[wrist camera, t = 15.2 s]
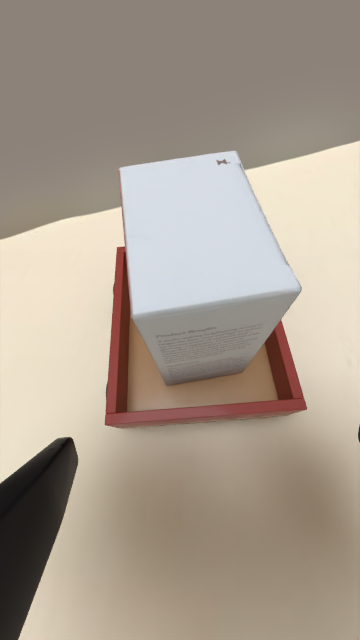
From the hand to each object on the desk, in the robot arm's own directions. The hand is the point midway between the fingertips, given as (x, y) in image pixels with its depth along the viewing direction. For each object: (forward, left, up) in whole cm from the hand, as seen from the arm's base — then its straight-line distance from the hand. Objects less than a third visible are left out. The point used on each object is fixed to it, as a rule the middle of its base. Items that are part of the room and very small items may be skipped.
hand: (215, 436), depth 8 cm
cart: (+5, -9, -10) cm, 14 cm away
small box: (+3, -7, -9) cm, 11 cm away
